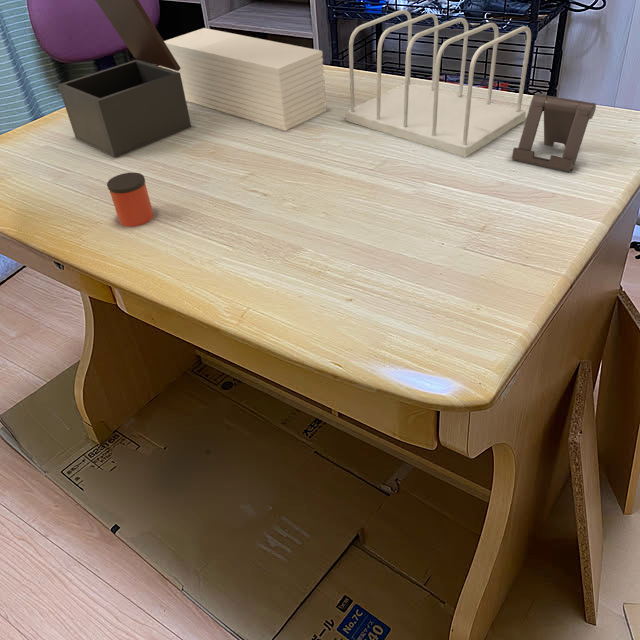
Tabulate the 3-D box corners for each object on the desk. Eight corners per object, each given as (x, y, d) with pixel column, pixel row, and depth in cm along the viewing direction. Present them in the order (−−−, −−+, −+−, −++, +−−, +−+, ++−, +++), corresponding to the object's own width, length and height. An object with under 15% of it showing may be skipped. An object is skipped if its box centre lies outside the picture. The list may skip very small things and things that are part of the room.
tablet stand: (509, 162, 93) (517, 107, 88) (531, 142, 98) (539, 89, 92) (568, 175, 89) (579, 118, 83) (588, 154, 93) (599, 98, 88)
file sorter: (345, 122, 109) (340, 27, 100) (406, 92, 119) (408, 3, 109) (466, 158, 95) (474, 52, 85) (525, 121, 104) (539, 21, 94)
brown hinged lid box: (115, 159, 104) (98, 101, 98) (76, 140, 112) (57, 84, 106) (191, 128, 113) (180, 72, 106) (150, 112, 121) (136, 59, 114)
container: (121, 232, 85) (108, 192, 82) (117, 215, 89) (105, 177, 85) (157, 223, 87) (146, 184, 83) (151, 207, 90) (141, 169, 87)
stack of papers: (173, 98, 126) (161, 41, 119) (213, 82, 132) (204, 27, 125) (285, 132, 108) (278, 68, 101) (326, 112, 114) (322, 50, 107)
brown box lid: (119, -21, 93) (143, -43, 94) (75, -29, 101) (97, -49, 102) (178, 71, 106) (198, 51, 107) (134, 58, 114) (153, 39, 115)
